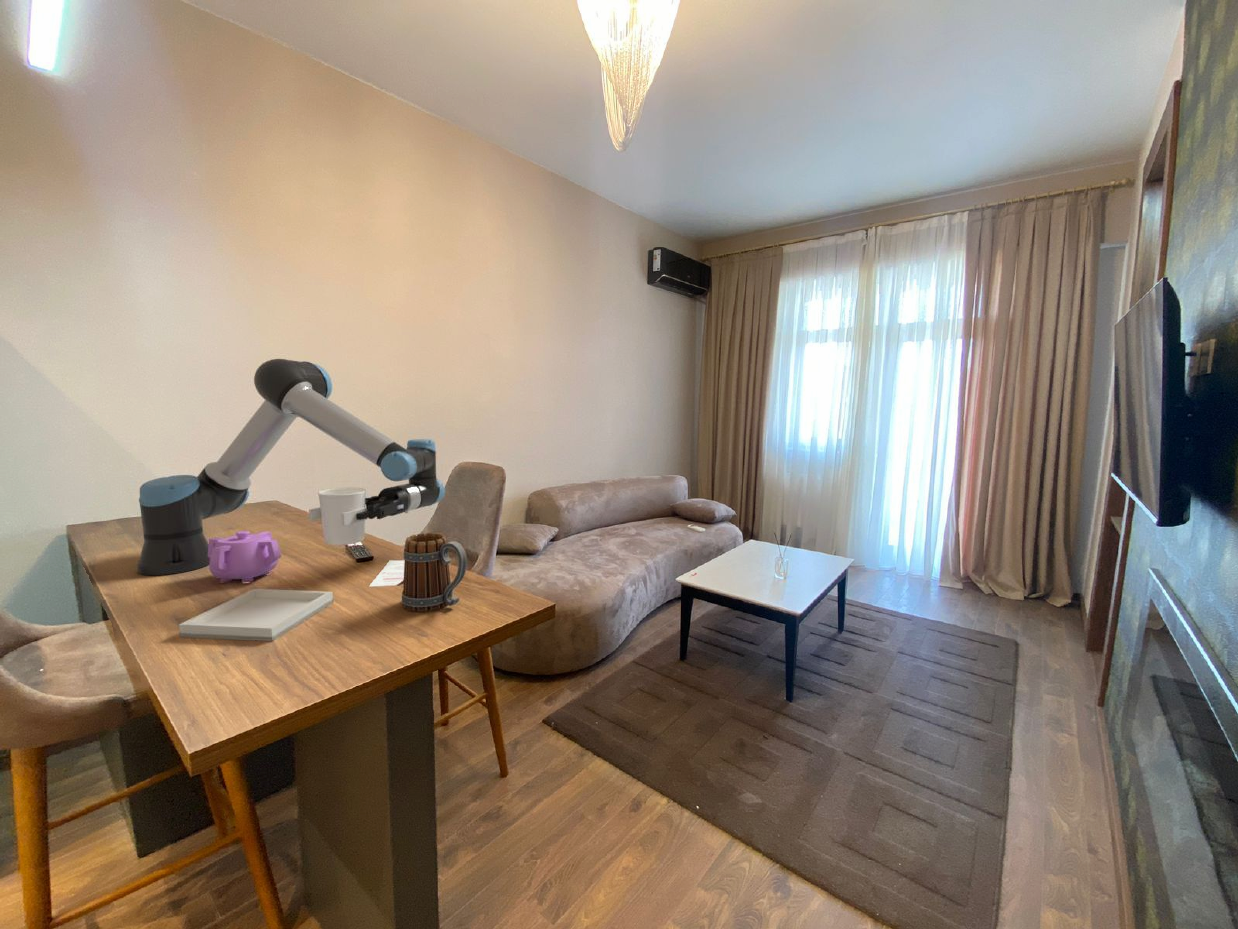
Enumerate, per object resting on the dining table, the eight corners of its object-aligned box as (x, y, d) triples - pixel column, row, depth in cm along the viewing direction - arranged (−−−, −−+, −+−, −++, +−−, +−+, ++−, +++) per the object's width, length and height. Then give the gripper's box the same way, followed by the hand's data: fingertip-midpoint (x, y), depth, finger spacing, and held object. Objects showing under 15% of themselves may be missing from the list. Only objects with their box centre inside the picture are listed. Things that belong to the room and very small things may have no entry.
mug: (391, 608, 108) (388, 540, 106) (426, 591, 118) (424, 529, 116) (448, 621, 102) (446, 549, 100) (481, 602, 112) (479, 537, 110)
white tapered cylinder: (335, 549, 112) (332, 496, 111) (312, 542, 117) (309, 491, 116) (376, 539, 120) (374, 490, 119) (353, 533, 126) (350, 486, 124)
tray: (180, 637, 93) (179, 624, 93) (255, 599, 111) (254, 588, 111) (272, 641, 92) (271, 628, 92) (333, 602, 110) (332, 591, 110)
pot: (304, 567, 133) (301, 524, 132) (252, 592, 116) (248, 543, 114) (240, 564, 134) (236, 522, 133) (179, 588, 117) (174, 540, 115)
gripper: (432, 516, 132) (364, 538, 111) (367, 509, 139) (292, 529, 118) (431, 488, 131) (363, 505, 110) (366, 483, 138) (290, 497, 117)
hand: (326, 517), depth 114 cm, fingers closed on white tapered cylinder, 9 cm apart
